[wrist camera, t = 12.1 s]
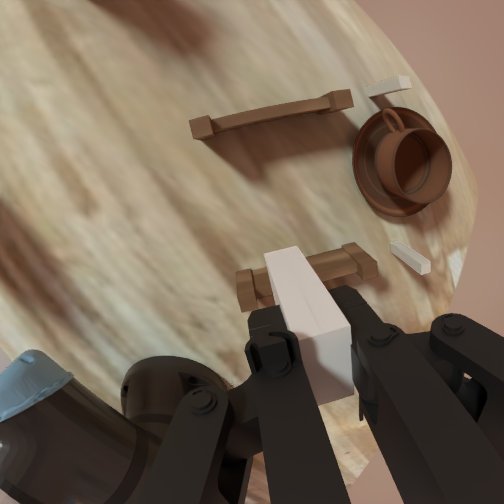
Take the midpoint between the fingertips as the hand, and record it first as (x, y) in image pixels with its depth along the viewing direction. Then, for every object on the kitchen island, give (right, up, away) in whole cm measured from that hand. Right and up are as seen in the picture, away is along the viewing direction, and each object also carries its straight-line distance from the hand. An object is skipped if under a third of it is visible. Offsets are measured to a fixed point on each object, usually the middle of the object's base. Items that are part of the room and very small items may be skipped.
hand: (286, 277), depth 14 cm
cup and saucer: (+14, +11, +17) cm, 25 cm away
